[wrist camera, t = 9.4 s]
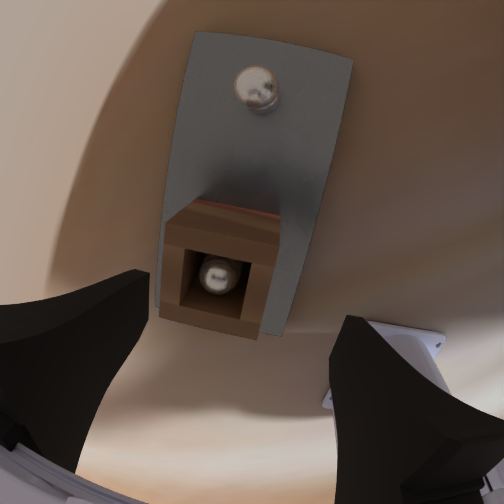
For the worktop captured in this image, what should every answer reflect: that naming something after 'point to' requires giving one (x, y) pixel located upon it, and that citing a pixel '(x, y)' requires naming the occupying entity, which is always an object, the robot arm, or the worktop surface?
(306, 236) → the pin board
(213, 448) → the worktop surface
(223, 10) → the worktop surface
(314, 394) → the worktop surface
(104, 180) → the worktop surface
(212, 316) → the sleeve
